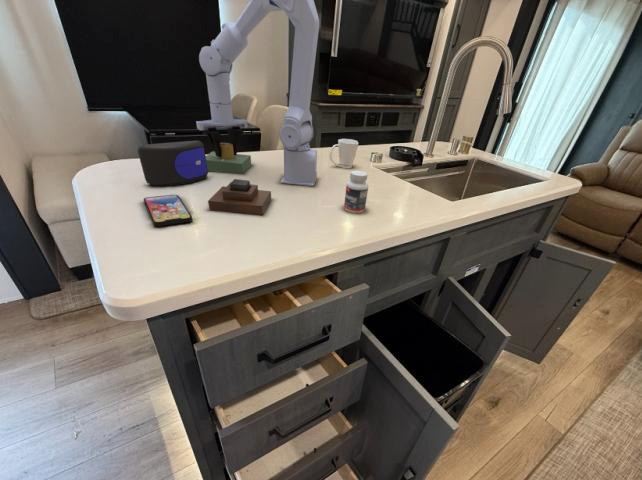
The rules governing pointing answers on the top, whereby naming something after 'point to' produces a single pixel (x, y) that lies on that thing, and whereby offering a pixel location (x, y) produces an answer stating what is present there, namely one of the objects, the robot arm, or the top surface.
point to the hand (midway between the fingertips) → (226, 155)
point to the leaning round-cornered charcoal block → (173, 162)
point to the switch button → (240, 185)
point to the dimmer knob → (226, 151)
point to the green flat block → (228, 163)
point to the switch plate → (240, 200)
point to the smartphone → (167, 210)
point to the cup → (345, 152)
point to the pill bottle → (356, 192)
